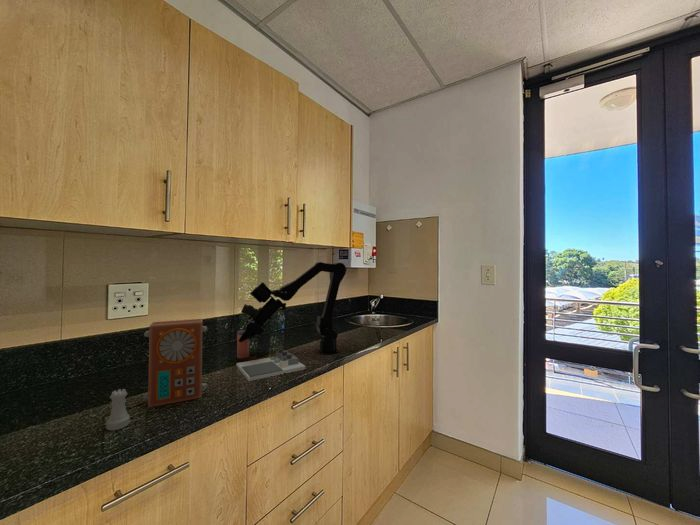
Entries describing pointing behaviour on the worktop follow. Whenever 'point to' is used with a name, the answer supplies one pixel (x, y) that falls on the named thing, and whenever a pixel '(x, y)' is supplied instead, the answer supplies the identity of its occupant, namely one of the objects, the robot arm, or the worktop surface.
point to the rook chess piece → (118, 411)
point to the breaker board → (270, 366)
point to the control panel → (175, 361)
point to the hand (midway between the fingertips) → (239, 339)
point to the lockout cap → (242, 346)
